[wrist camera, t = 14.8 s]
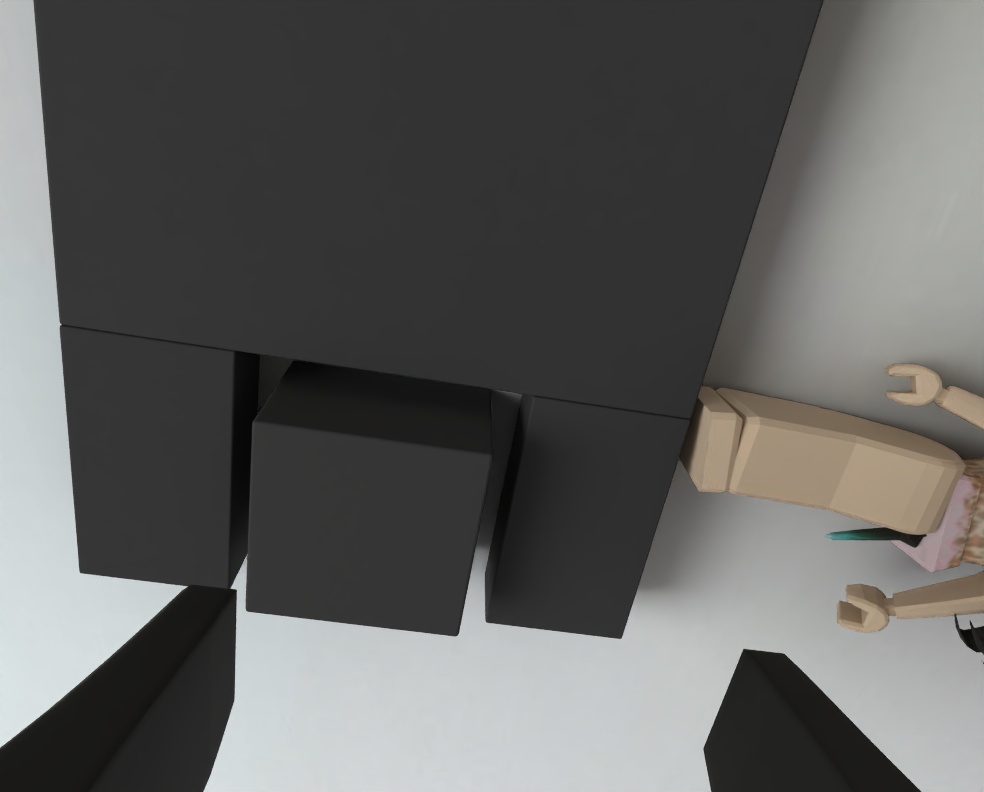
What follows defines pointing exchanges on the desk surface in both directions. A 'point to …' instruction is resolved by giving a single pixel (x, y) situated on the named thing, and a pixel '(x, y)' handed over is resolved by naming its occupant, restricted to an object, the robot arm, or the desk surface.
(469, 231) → the black slab with blocks
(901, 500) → the toy figure
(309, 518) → the small block
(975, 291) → the desk surface
